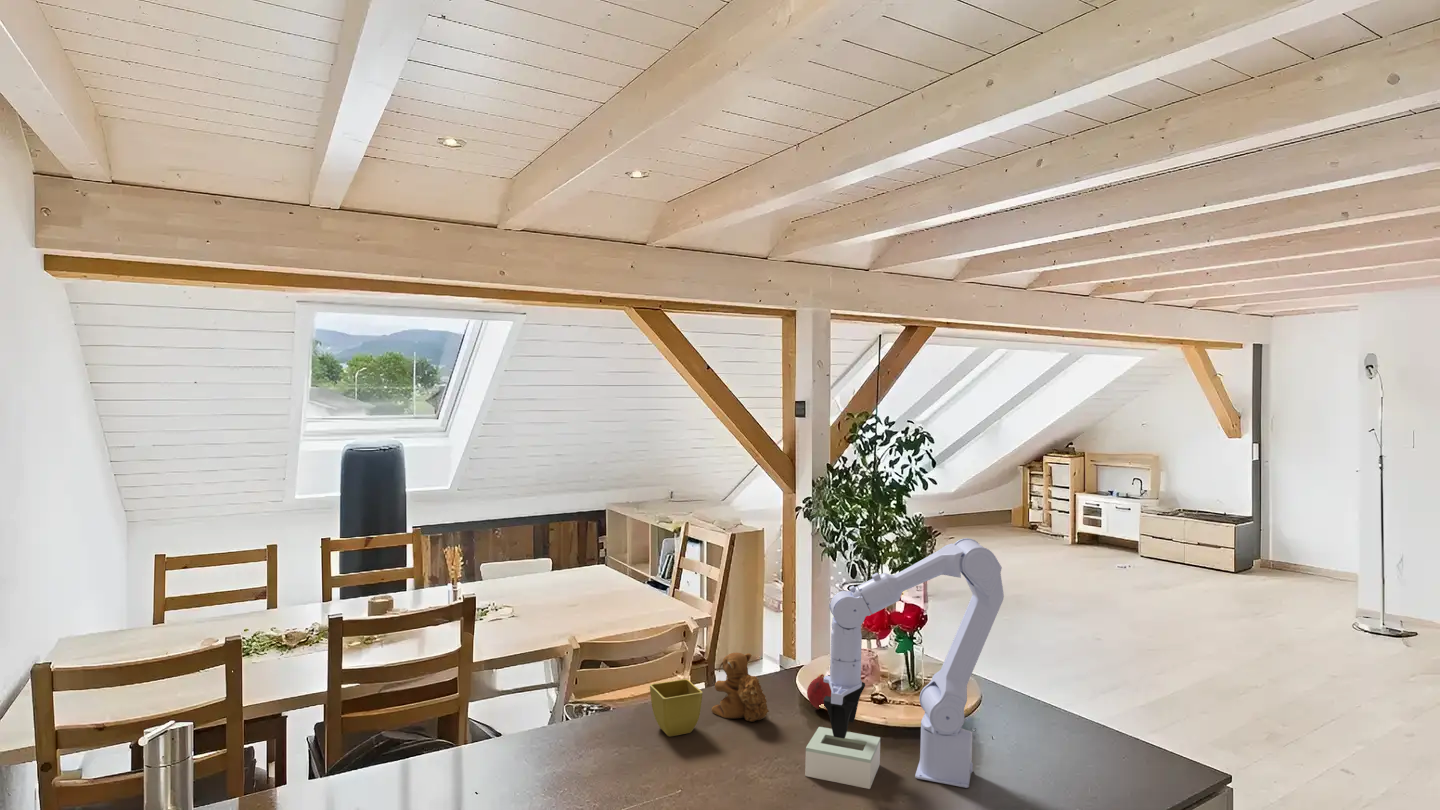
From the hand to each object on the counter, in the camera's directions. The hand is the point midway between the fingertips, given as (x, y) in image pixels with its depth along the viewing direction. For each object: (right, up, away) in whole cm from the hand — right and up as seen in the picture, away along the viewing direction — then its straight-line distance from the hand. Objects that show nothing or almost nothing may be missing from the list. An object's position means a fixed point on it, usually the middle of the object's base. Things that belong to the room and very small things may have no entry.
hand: (844, 728), depth 151 cm
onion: (-1, -7, +28) cm, 29 cm away
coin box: (0, -8, 0) cm, 8 cm away
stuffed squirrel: (-18, -7, +25) cm, 31 cm away
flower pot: (-33, -7, +16) cm, 37 cm away
